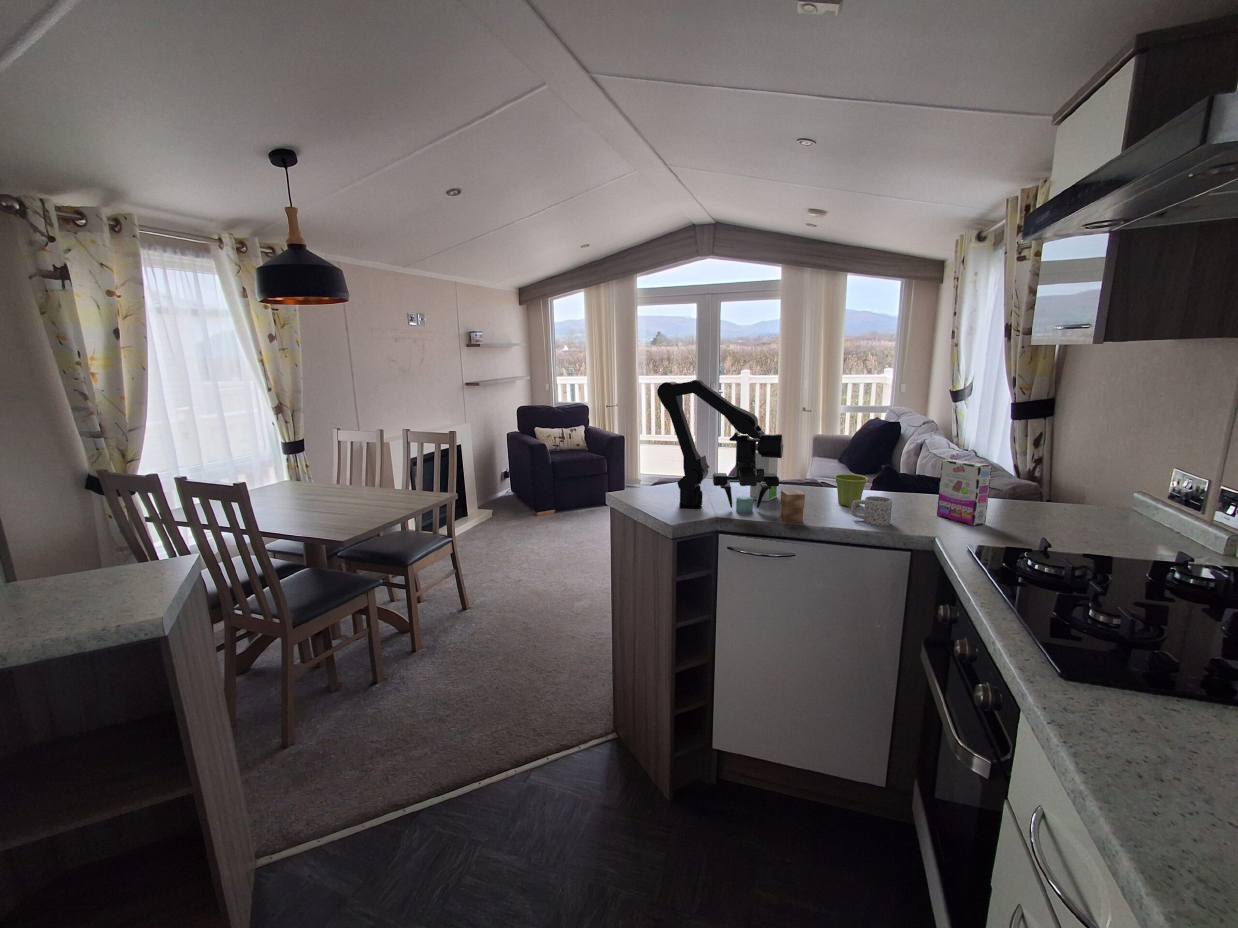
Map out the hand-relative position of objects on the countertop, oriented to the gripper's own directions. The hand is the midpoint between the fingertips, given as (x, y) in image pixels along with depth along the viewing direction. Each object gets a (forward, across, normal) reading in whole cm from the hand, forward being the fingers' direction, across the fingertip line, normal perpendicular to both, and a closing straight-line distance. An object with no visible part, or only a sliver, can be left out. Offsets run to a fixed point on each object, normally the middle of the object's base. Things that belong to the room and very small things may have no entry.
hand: (744, 507), depth 158 cm
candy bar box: (+1, +58, -6) cm, 58 cm away
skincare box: (+1, +8, +16) cm, 18 cm away
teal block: (+1, 0, 0) cm, 1 cm away
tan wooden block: (-3, +12, -8) cm, 15 cm away
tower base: (+1, +12, -8) cm, 15 cm away
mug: (+1, +33, -9) cm, 34 cm away
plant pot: (+1, +33, +9) cm, 34 cm away
